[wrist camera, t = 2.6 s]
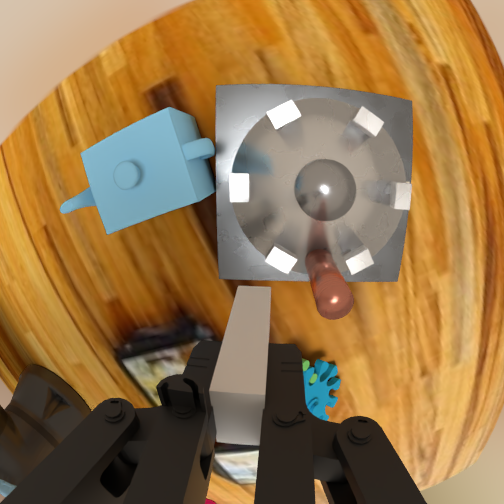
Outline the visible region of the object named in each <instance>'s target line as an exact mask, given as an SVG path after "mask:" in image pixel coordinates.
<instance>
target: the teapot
mask: <svg viewBox="0 0 504 504" xmlns="http://www.w3.org/2000/svg"><path fill="white" fill-rule="evenodd" d="M214 154H215V148H214V145H213V143H212V141H211V140H210V139H209V138H202V139H201V136H200V133H199V130H198V126H197V123H196V120H195V117H193V116H191V115H189V114H186V113H184V112H181V111H179V110H176V109H174V108H171V107H168V108H165V109H163V110H161V111H159V112H157V113H154V114H152V115H150V116H148V117H146V118H144V119H142V120H140V121H138V122H136V123H134V124H132V125H130V126H128V127H126V128H124V129H122V130H120V131H118V132H116V133H114V134H113V135H111V136H109V137H107V138H105V139H104V140H102V141H100V142H98V143H97V144H95V145H93V146H92V147H90V148H88V149H87V150H85V151H83V152H82V153H81V157H82V160H83V164H84V168H85V171H86V175H87V178H88V181H89V185H90V187H89V188H87V189H86V190H84V191H83V192H81V193H80V194H78V195H76V196H75V197H73V198H71V199H69V200H67V201H66V202H64V203H63V204H62V205H61V207H60V212H61V213H69V212H71V211H74V210H76V209H79V208H83V207H88V206H97V208H98V211H99V214H100V217H101V219H102V222H103V225H104V227H105V230H106V233H107V235H108V234H111V233H113V232H116V231H118V230H121V229H124V228H126V227H129V226H131V225H134V224H137V223H139V222H142V221H145V220H147V219H150V218H153V217H156V216H158V215H161V214H164V213H167V212H170V211H173V210H175V209H178V208H181V207H184V206H187V205H190V204H193V203H196V202H199V201H201V200H203V199H204V198H206V197H207V196H209V195H211V194H212V193H214V192H216V182H215V179H214V176H213V173H212V170H211V167H210V164H209V160H208V158H210V157H212V156H214Z"/></svg>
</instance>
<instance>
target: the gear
mask: <svg viewBox="0 0 504 504" xmlns="http://www.w3.org/2000/svg"><path fill="white" fill-rule="evenodd" d="M302 364H303V375H304V387H305V399H306V405H307V408H308V409H309V411H310V412H311V413H312V414H313V415H314V416H316V417H318V418H319V419H322V420H325V421H327V420H328V418H329V416H328V415H326V413H325V406H326V405H327V406H330V407H334V405H335V404H336V402H337V399H338V398H337V397H335V396H333V395H329V391H330V390H331V389H334V390H337V389H338V388H339V386H340V382H341V379H338V378H336V377H334V376H336V374H337V372H338V370H337V366H336V365H333V364H331V363H330V364H328V363H327V362H325V361H322V360H320V359H317V360H316V362H315V365H314V367H311V366H309V361H308V360H305V359H302ZM330 377H333V378H331V380H330V381H328V379H329V378H330ZM327 381H328V382H327Z"/></svg>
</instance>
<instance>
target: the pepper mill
mask: <svg viewBox="0 0 504 504" xmlns="http://www.w3.org/2000/svg"><path fill="white" fill-rule="evenodd" d="M205 504H216V503H215V502H214V501H212V500H209V499H206V500H205Z"/></svg>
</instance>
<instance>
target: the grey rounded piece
mask: <svg viewBox="0 0 504 504" xmlns="http://www.w3.org/2000/svg"><path fill="white" fill-rule="evenodd" d="M383 124H384V122H383V121H382V120H381V119H379V118H378V117H377V116H375V115H374V114H373V113H371V112H370V111H369V110H367V109H366V108H364V107H363V106H361V107H359V108H357V107H355V106H353V105H350V104H348V103H345V102H342V101H338V100H333V99H327V98H308V99H300V100H297V101H292V100H290V101H288V102H286V103H284V104H282V105H280V106H278V107H276V108H274V109H272V110H270V111H268V112H266V115H265V116H264V117H263V118H261V119H260V120H259V121H258V122H257V123H256V124H255V125H254V126H253V127H252V128H251V129H250V130H249V132H248V133H247V135H246V136H245V138H244V139H243V141H242V143H241V145H240V147H239V149H238V151H237V153H236V156H235V159H234V162H233V167H232V172H231V174H230V202H232V205H233V209H234V212H235V215H236V218H237V221H238V223H239V225H240V227H241V229H242V231H243V233H244V234H245V235H246V237H247V238H248V240H249V241H250V242H251V244H252V245H253V246H254V247H255V248H256V249H257V250H258V251H259V252H260V253H261V254H263V255H264V256H265V262H267V263H269V264H270V265H272V266H274V267H276V268H277V269H279V270H281V271H283V272H284V273H286V274H288V273H289V271H290V270H291V271H294V272H297V273H302V274H308V277H309V280H310V284H311V287H312V291H313V295H314V298H315V302H316V306H317V309H318V312H319V313H320V315H321V316H323V317H324V318H327V319H332V320H334V319H339V318H342V317H344V316H345V315H347V314H348V313H349V312H350V310H351V309H352V307H353V304H354V298H353V295H352V293H351V291H350V289H349V287H348V285H347V283H346V282H345V280H344V278H343V276H342V274H341V272H344V271H347V270H349V271H350V273H351V275H353V274H355V273H357V272H359V271H361V270H363V269H365V268H366V267H368V266H370V265H372V264H374V262H373V260H372V257H373V256H374V255H375V254H377V253H378V252H379V251H380V250H381V249H382V248H383V247H384V246H385V244H386V243H387V242H388V240H389V239H390V238H391V236H392V235H393V233H394V231H395V230H396V228H397V226H398V223H399V221H400V219H401V216H402V212H403V210H410V200H411V189H412V184H409V183H406V177H405V171H404V166H403V162H402V159H401V156H400V154H399V151H398V149H397V147H396V145H395V143H394V142H393V140H392V138H391V137H390V136H389V134H388V133H387V131H386V130H385V129H384V128H383V127H382V125H383Z"/></svg>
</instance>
